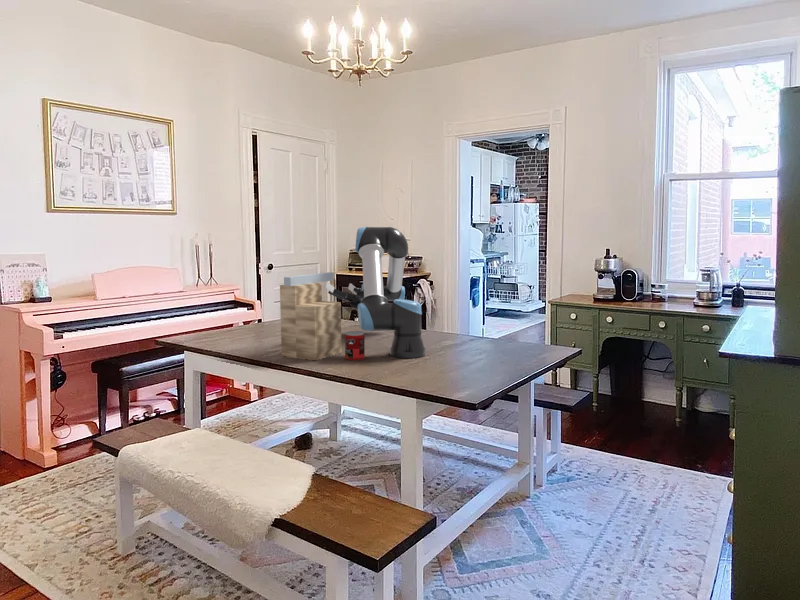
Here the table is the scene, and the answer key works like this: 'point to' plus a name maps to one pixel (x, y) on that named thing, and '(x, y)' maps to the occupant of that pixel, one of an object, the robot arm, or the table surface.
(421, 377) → the table surface
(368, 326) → the robot arm
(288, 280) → the rail
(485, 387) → the table surface
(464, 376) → the table surface
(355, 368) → the table surface
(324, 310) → the stand
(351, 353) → the canned food
